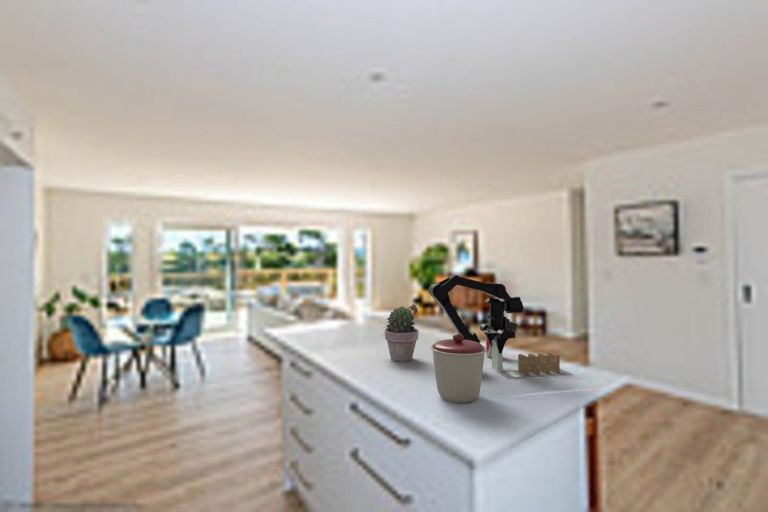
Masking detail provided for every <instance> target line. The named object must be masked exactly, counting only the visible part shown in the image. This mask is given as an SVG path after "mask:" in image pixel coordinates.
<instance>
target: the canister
mask: <svg viewBox="0 0 768 512" xmlns="http://www.w3.org/2000/svg"><path fill="white" fill-rule="evenodd" d="M463 339H464V336H463V335H462V334H460V333H458V332H456V333H454V334H453V336H452V338H451V339H449V338H447V339H443V340H438V341H436V342H435V343H433V344H431V345H430V350H432V358H433V367H434V375H435V381H436V389H437V392H438V395H439V396H440V397H441V398H442V399H443V400H445V401H449V402H451V403H459V404H461V403H463V404H465V403H466V404H467V403H471V402H474V401H476V400H477V399H478V398H479V396H480V394H481V387H482V379H483V373H484V372H483V370H484V362H485V354H486V351H487V349H486V346H484V345H483V344H482V343H481V342H480V343H478V342H475V341H470V340H463Z"/></svg>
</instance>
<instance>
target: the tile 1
mask: <svg viewBox="0 0 768 512" xmlns="http://www.w3.org/2000/svg"><path fill="white" fill-rule="evenodd" d="M503 361H504V360H503V352H502V353H499V352H498V349H497V345H496V341H495V339H494V340H492V358H491V368H492V369H494V370H495V371H504V370H503Z"/></svg>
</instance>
